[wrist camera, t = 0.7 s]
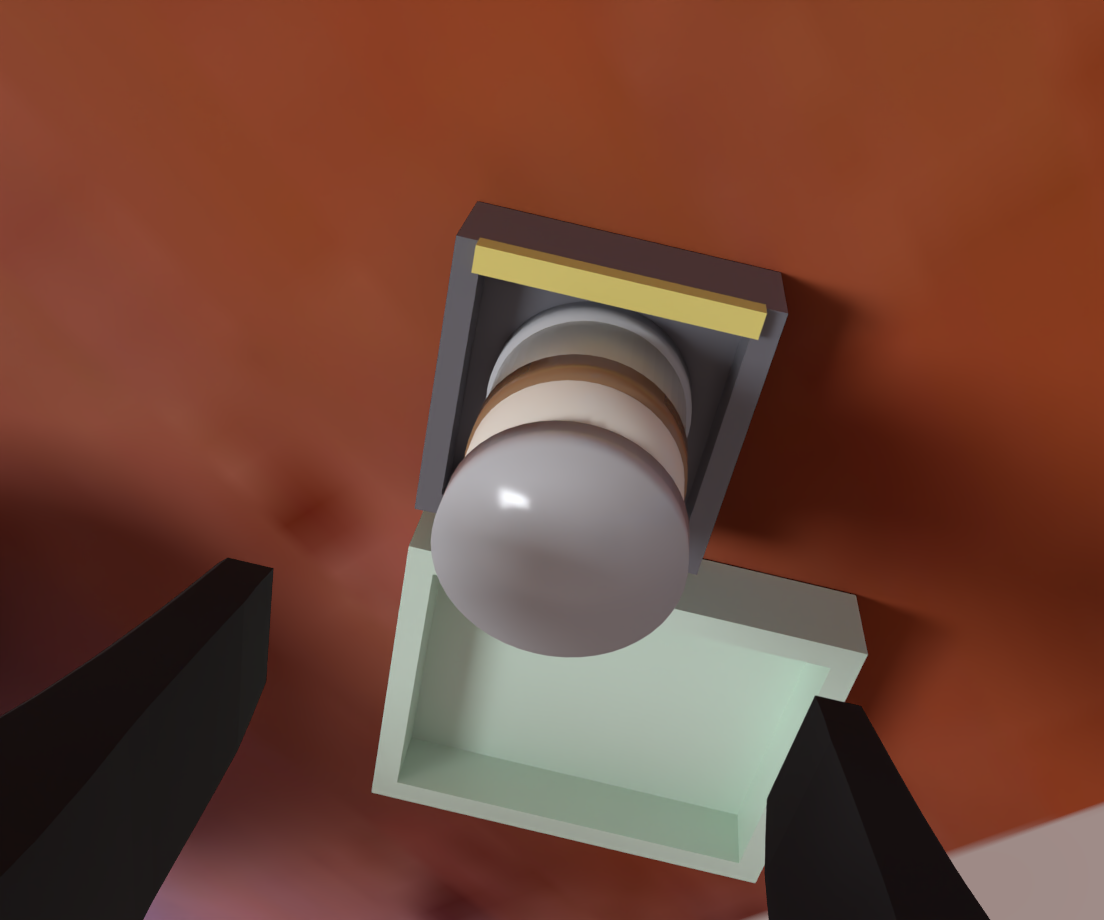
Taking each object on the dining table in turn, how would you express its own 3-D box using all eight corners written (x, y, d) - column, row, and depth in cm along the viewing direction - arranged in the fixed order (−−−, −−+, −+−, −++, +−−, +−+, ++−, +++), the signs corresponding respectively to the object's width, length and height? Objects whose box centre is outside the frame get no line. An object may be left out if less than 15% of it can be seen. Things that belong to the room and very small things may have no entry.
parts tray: (855, 595, 23) (867, 654, 22) (752, 819, 28) (755, 883, 26) (430, 494, 23) (409, 545, 22) (391, 733, 28) (371, 792, 26)
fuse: (716, 328, 19) (720, 483, 15) (663, 498, 22) (652, 680, 17) (510, 279, 19) (449, 419, 15) (477, 454, 22) (415, 625, 17)
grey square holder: (781, 271, 20) (789, 319, 18) (697, 519, 23) (696, 582, 21) (477, 200, 20) (453, 239, 18) (435, 458, 23) (411, 515, 21)
